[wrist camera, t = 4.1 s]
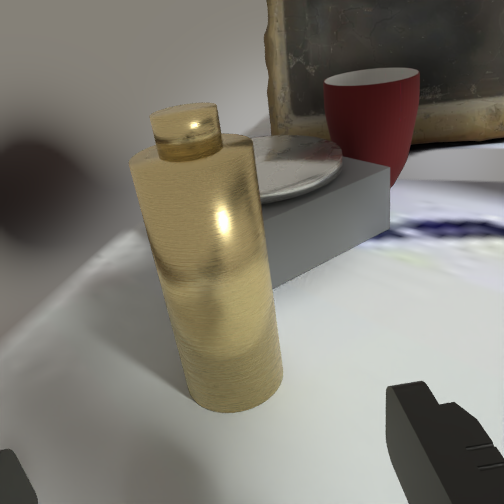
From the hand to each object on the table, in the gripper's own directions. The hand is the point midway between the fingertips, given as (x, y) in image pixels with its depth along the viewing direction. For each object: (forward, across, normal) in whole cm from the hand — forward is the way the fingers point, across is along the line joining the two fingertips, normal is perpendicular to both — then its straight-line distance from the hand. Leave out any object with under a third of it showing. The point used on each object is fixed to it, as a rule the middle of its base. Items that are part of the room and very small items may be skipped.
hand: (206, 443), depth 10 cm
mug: (+35, -15, +8) cm, 39 cm away
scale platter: (+27, -4, +3) cm, 28 cm away
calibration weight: (+12, 0, +9) cm, 14 cm away
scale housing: (+28, -4, +8) cm, 29 cm away
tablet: (+47, -24, +8) cm, 54 cm away
